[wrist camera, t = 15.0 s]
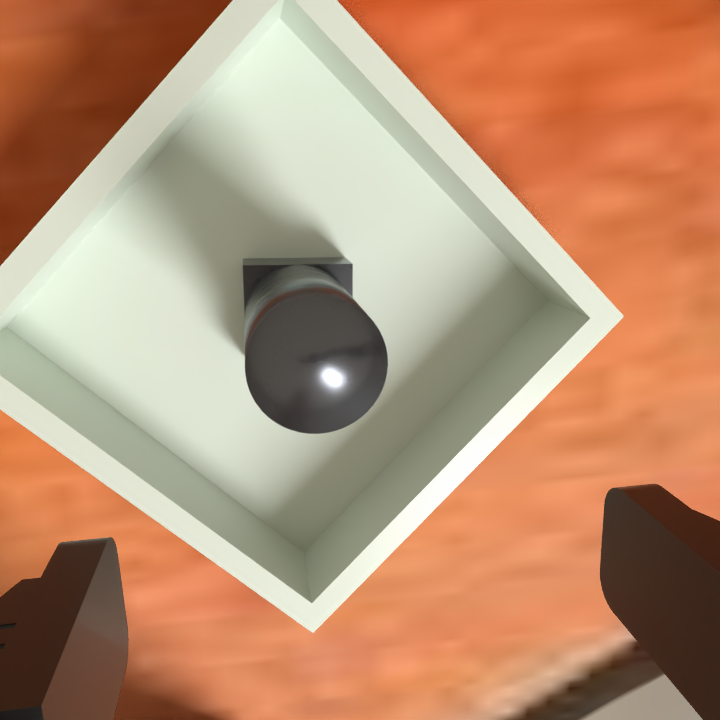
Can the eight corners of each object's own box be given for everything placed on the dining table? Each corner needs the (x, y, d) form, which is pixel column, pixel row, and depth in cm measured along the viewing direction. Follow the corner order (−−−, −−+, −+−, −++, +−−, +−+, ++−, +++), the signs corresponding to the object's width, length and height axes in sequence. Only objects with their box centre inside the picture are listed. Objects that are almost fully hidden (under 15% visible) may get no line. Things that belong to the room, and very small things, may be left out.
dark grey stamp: (344, 257, 29) (389, 293, 20) (344, 354, 30) (386, 430, 21) (242, 258, 28) (242, 297, 19) (246, 358, 29) (247, 437, 20)
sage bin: (567, 294, 32) (624, 316, 27) (303, 567, 33) (312, 633, 28) (276, -17, 26) (283, -58, 22) (-22, 323, 28) (-77, 354, 23)
